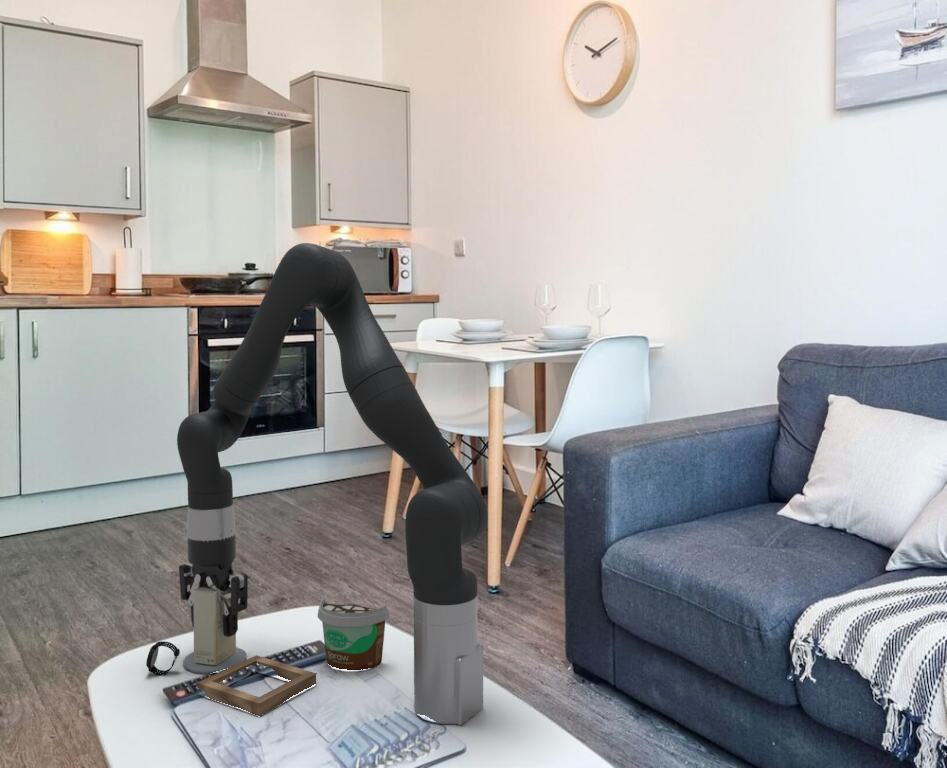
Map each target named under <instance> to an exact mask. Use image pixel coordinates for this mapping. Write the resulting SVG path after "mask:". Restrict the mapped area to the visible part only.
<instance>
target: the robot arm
mask: <svg viewBox="0 0 947 768" xmlns="http://www.w3.org/2000/svg"><path fill="white" fill-rule="evenodd" d="M308 306H311V307H315V308H316V309H317V310H318V311H319V312H320V314H321V315H322V316H323V318H324V319H325V321H326V323H327V325H328V326H329V327H330V330H331V332H332V333H333V336H335V339H336V343H337V345H338V349H339V353H340V354H339V355H340V367H341V375H342V380H343V383H344V386H345V390H346V392H347V394H348V396H349V398H350V400H351V402H352V403H353V405H354V408H355V409H356V411H357V413H358V415H359V417H360V418H361V420H362V421H363V423H364V424H365V426H366V427H367V428H368V429H369V430H370V431H371V432H372V433H373V435H375V436H376V437H377V438H378V439H379V440H380V441H382V442H383V443H384V444H385V445H386V446H387V447H389V448H390V449H391V450H392V451H393V452H394V453H396V454H397V455H398V456H399V457H400V458H402V460H404V461H405V462H406V463H407V464H408V466H409V467H410V469H412V471H413V472H414V474H415V476H416V477H417V479H418V481H419V483H420V484H421V487H422V488H423V489H421V490H420V491H417V492H416V493H415V494H414V495H413V496H412V497H411V499H410V500H409V503H408V505H407V508H406V512H405V513H406V514H405V521H404V524H405V526H404V527H405V529H404V530H405V532H404V533H405V546H406V548H405V549H406V564H407V565H406V567H407V571H408V572H407V573H408V575H409V576H408V577H409V579H410V581H411V584H412V587H413V588H412V589H413V689H414V690H413V695H414V697H413V698H414V700H413V701H414V706H413V707H414V713H415V715H416V714H420V715H425V716H427V717H429V718H430V719H433V720H434V721H436V722H437V723H436V724H441V725H442V724H443V725H445V724H449V725H450V724H455V725H459V726H462V725H463V724H465V723H466V722H467V721H468V720H470V719H471V718H473V717H474V716H475V715H477V714H478V713H479V712H481V711H483V709H484V647H483V645H481V644H479V643H478V577H477V575H476V574H475V573H474V572H473V571H471V570H470V569H467V568H464V566H463V556H462V555H463V554H462V546H463V545H465V544H467V543H470V542H473V540H476V539H477V538H479V537H480V536H481V535H482V534H483V533H484V531H485V529H486V526H487V524H488V508H487V505H486V502H485V499H484V497H483V495H482V493H481V492H480V490H479V488H478V486H477V485H476V483H475V482H474V481H473V479H472V478H471V477H470V475H469V474H468V472H467V471H466V469H465V467H463V465H462V464H461V463H460V461H459V460H458V458H457V456H456V455H455V454H454V452H453V450H452V449H451V448H450V446H449V444H448V442H446V440H445V439H444V437H443V435H442V433H441V432H440V430H439V428H438V426H437V424H436V423H435V421H434V419H433V418H432V416H431V414H430V412H429V411H428V408H427V407H426V406H425V403H424V402H423V400H422V399H421V396H420V394H419V392H418V390H417V388H416V386H415V384H414V383H413V381H412V379H411V378H410V376H409V374H408V372H407V371H406V368H405V366H404V365H403V363H402V362H401V360H400V359H399V357H398V355H397V353H396V352H395V351H394V349H393V347H392V345H391V343H390V340H389V339H388V337H387V336H386V335H385V333H384V331H383V329H382V327H381V326H380V324H379V322H378V321H377V319H376V317H375V315H374V313H373V311H372V309H371V307H370V305H369V302H368V300H367V298H366V295H365V293H364V291H363V288H362V286H361V283H360V281H359V278H358V276H357V273H356V272H355V270H354V268H353V266H352V264H351V262H350V261H349V260H348V259H347V258H346V257H345V256H344V255H343V254H341V253H340V252H338V251H336V250H333V249H330V248H327V247H324V246H321V245H318V244H315V243H310V242H309V243H308V242H302V243H298V244H296V245H294V246H292V247H290V249H288V250H287V251H286V252H285V254H284V255H283V257H282V258H281V260H280V261H279V263H278V266H277V267H276V269H275V272H274V274H273V275H272V278H271V280H270V282H269V284H268V288H267V290H266V292H265V293H264V296H263V298H262V301H261V302H260V304H259V307H258V309H257V312H256V313H255V316H254V318H253V321H252V322H251V324H250V326H249V329H248V330H247V332H246V334H245V336H244V338H243V339H242V341H241V343H240V345H239V346H238V348H237V350H236V351H235V352H234V354H233V356H232V357H231V359H230V360H229V361H228V363H227V365H226V366H225V368H224V369H223V371H222V372H221V374H220V375H219V377H218V379H217V380H216V382H215V383H214V385H213V388H212V396H213V398H214V401H213V402H212V404H211V406H210V407H209V408H208V410H207V411H201V412H197V413H192V414H190V415H188V416H186V417H185V418H184V419H183V420H182V421H181V423H180V425H179V426H178V430H177V434H176V435H177V436H176V437H177V438H176V445H177V450H178V454H179V458H180V459H179V460H180V461H181V465H182V469H183V473H184V475H185V478H186V481H187V506H188V507H187V516H186V518H187V519H186V532H187V536H186V539H187V560H188V561H187V562H186V563H183V564H181V565H179V566H178V573H179V586H180V587H179V590H180V591H179V592H180V598H181V600H182V601H187V603H188V605H189V606H190V616H191V617H190V618H191V619H190V620H191V626H192V627H193V628H194V599H193V591H194V590H196V589H197V588H199V587H205V588H209V589H211V590H212V591H214V592H217V601H218V603H219V604H220V605H221V608H222V610H223V613H224V615H223V633H224V636H226V637H230V636H232V635H235V634H236V635H237V632H238V629H239V622H238V614H239V612H242V611H244V610H246V609H247V608H248V595H249V594H248V589H249V586H248V585H249V582H248V580H249V579H248V575H247V573H242V574H238V573H235V571H234V569H233V563H234V561H235V559H236V557H237V550H236V549H237V548H236V547H237V545H236V542H237V541H236V516H235V510H234V509H235V508H234V500H233V499H234V497H233V495H234V494H233V478H232V474H231V472H230V471H229V470H228V469H226V468H223V467H221V463H220V458H219V453H221V452H225V451H227V450H228V449H230V448H231V447H232V446H233V445H234V444H235V443H236V442H237V441H238V440H239V438H240V437H241V435H242V433H243V431H244V430H245V427H246V424H247V422H248V420H249V418H250V415H251V412H252V409H253V407H254V406H255V404H256V403H257V402H258V401H259V399H260V397H261V396H262V395H263V393H264V392H265V391H266V390H267V388H268V387H269V385H270V383H271V381H272V380H273V378H274V376H275V374H276V372H277V369H278V366H279V363H280V360H281V355H282V349H283V345H284V341H285V338H286V336H287V333H288V332H289V330H290V328H291V326H292V325H293V323H294V322H295V320H296V319H297V317H298V316H299V315H300V314H301V313H302V311H303V310H305V308H306V307H308ZM188 586H189V590H188ZM227 589H228V594H226V595H222V594H221V592H220V591H227ZM226 600H229V601H230V604H231V606H228V603H227V601H226Z"/></svg>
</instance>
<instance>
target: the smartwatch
mask: <svg viewBox="0 0 947 768" xmlns="http://www.w3.org/2000/svg"><path fill="white" fill-rule="evenodd" d="M160 647H166V648H168V649H170V650H171V651H172V652H173V656H174V659H173V661H172V663H171V666H170V667H169V668H168V669H166V670H163V669H162V670H161V669H158V667H156V665H155V664H156V663H157V658H158V655H159V648H160ZM180 653H181V649H180V648H178V647H177V646H176V645H175V644H174V643H172V642H169V641H163V640H162V641H157V642H156V643H155V644H154V645H152V646H151V647H150V648H149V651H148V654H147V657H146V663H145V664H146V668H147V669H148V670H147V671H148V672H149V673H151V674H154V675H156V676H165V675H167V674H168V673H169V672H171V670H172V669H173V667H174V665H175V663H176V660H177V659H178V657H179V656H180Z"/></svg>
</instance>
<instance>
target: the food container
mask: <svg viewBox="0 0 947 768" xmlns="http://www.w3.org/2000/svg"><path fill="white" fill-rule="evenodd" d="M317 618H318V619H319V621H321V622H322V623H321V624H322V631H323V641H324V650H325V657H326V658H325V659H326V664H327V663H328V664H329V665H331V666H332V667H336V668H339V669H347V670H361V669H362V670H363V669H368V668H372V669H375V668H377V667H378V666H380V665H382V662H383V653H384V652H383V651H384V640H385V631H386V620H388V619H389V618H390V614H389V608H387V604H385V605H383V606H381V607H379V608H370V607H366V606H362V605H359V604H355V603H353V604H351V603H350V604H335V603H333V604H332V603H327V602H326V599H325V597H324V598H322V600H320V604H319V606H318V612H317ZM328 664H327V665H328Z"/></svg>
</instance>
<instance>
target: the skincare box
mask: <svg viewBox="0 0 947 768" xmlns="http://www.w3.org/2000/svg"><path fill="white" fill-rule="evenodd" d="M220 592H221V594H222V595H226V594H228V589H227V591H220ZM193 599H194V627H193V652H194V662H195V663H201V664H208V665H218V664H219V663H221V662H222V661H224V660H225V659H227V658H228V657H230V656H231V655H233V654H234V653H235V652H236V647H237V639H236V638H237V633H236V634H235V635H232V636H230V637H226V636H224V633H223V615H224V613H223V610H222V608H221V605H220V604H219V603H218V601H217V592H214V591H212V590H211V589H209V588H205V587H199V588H197V589H196V590H194V591H193ZM226 601H227V603H228V606H231V604H230V601H229V600H226Z"/></svg>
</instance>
